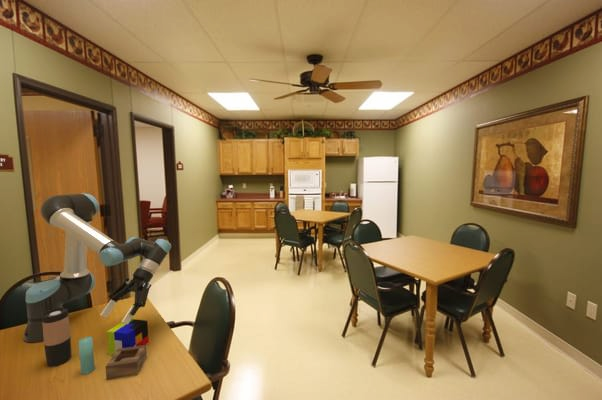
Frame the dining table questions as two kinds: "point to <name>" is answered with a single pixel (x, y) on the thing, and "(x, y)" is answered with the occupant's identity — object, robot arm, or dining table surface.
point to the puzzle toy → (127, 335)
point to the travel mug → (56, 336)
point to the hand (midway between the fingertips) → (113, 319)
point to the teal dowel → (86, 355)
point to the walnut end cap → (126, 362)
